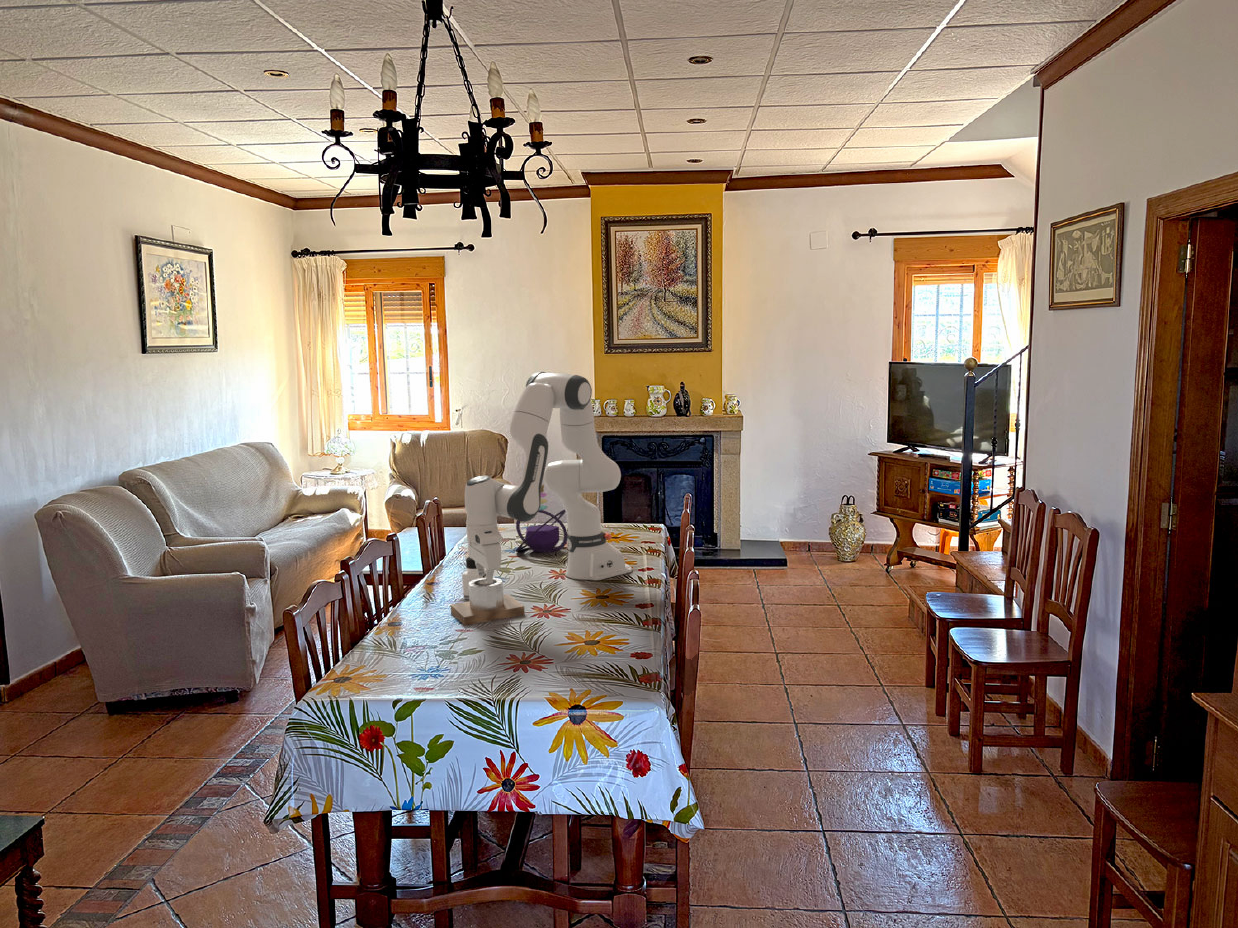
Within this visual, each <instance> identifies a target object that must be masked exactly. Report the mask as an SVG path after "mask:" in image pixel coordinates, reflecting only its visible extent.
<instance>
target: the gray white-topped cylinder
mask: <svg viewBox="0 0 1238 928" xmlns="http://www.w3.org/2000/svg"><path fill="white" fill-rule="evenodd" d="M477 583H478V585H480V586H484V585H492V584H494V583H495V581H494V580H493V582H489V583H488V582H487V581H486V579H484V580H480V581H478V582H477Z"/></svg>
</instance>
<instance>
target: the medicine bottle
mask: <svg viewBox="0 0 1238 928" xmlns="http://www.w3.org/2000/svg"><path fill="white" fill-rule="evenodd" d="M465 564H466V565H465V566H466V571H465V572H463V573H462V574H461V577H462V593H463V596H464V597H469V588H468V584H469V582H470V581H473V580H475V579H480V578H486V577H485V576H486V568H484V567H483V568H484V571H485V572H484V573H485V575H484V576H479V575H478V574H477V568H476V564H475V561H474V560H473V559H472V558H470V557H469V556H468V557H466V559H465Z"/></svg>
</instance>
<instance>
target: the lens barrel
mask: <svg viewBox="0 0 1238 928" xmlns="http://www.w3.org/2000/svg"><path fill="white" fill-rule="evenodd" d="M484 579H486V578H480V579H475V580H473V581H470V582H469V584H468V588H469V596H468V598H469V599H468V601H469V602H470V608H471V609H473V610H479V611H484V610H493V609H497V608H500V607H502V606H503V604H504V596H503V595H504V582H503V580H502V579H501V578H497V577H493V580H494V581H495V583H494V584H492V585H484V586H480V585H478V583H477V582H478V581H480V580H484Z"/></svg>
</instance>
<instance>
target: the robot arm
mask: <svg viewBox="0 0 1238 928" xmlns="http://www.w3.org/2000/svg"><path fill="white" fill-rule="evenodd" d="M525 383H526V384H525V387H524V389H523V391H522V392H521V395H520V397H519V399H518V400H517V404H516V405H515V409H514V412H513V414H512V417H511V421H510V425H509V432H510V436H511V438H512V439H513V441H514V442H515V443H516V444H517V445H518V446H520V448H522V449H523V451H524V453H525V462H524V468H523V473H522V476H521V477H522V478H521V481H520V483H519V484H518V485H514V484H510V483H504V482H500V481H497V480H495V479H493V478H492V477H491V476H490V475H478V476H475V477H472V478H470V479H468V480H467V482H466V483H465V487H464V509H465V513H466V521H465V524H466V525H465V526H466V527H465V528H466V540H467V553H468V557H470V558H472V559H473V560H474V561H475V564H476V568H477V574H478V575H479V576H484V575H485V573H484V572H485V571H484V568H486V576H485V577H486V581H487V582H488V583H489V582H493V578H494V574H495V571H496V570H500V569H501V566H502V547H501V543H502V542H503V537H502V534H501V533H500V530H499V527H498V519H497V518H498V517H503V518H508V519H513V520H515V521H517V520H518V521H521V522H522V523H526V522H529V521H531V520H533V519H534V518H535V517H536V516H537V515H538V514H539V512H538V511H539V509H540V505H542V504H541V499H542V497H541V493H542V492H541V487H542V485H544V487H546V488H547V490H548V491H550V493H552V494H554V495H555V496H556V497H557V498H558V499H559V500H560V502H561V504H562V506H563V508H564V510H565V511H566V512H565V515H566V522H567V523H566V524H567V543H566V546H567V551H568V555H567V565H566V571H565V573H564V574H565V577H567V578H570V579H573V580H590V581H601V580H604V579H608V578H612V577H618V576H621V575H624V574H630V573H632V571H633V568H632V567H631V565H629V564H627V563H626V561H625V558H624V557H625V556H624V554H623V553H622V552H621V550H619V549H617V548H616V547H615V546H613V545H612V544H610V543H609V542H607V540H608V541H611V539H612V538H613V536H612V534H611V533H609V532H604V531H602V524H601V511H600V509H599V508H598V506H597V505H595V504H593V503H592V502H589V501H588V500H586V499H585V498H584V497H583V495H582V494H583V493H603V492H608V491H613V490H615V489H617V487H618V486H619V484H620V481H621V478H622V473H621V469H620V467H619V465H618V464H617V463H616V461H614V460H612V459H611V458H610V457H609V456H607V455H606V453H604V451H603V450H602V449H601V447H600V444H599V443H598V439H597V435H596V432H597V431H596V426H595V413H594V408H593V407H594V406H593V403H592V400H591V399H592V393H593V391H592V386H591V383H590V382H589V380H588V379H587V378H585V377H584V376H582V375H578V374H570V373H565V372H545V371H539V372H534V373H532V374H531V375H530V377H529V378H528V380H527V381H526V382H525ZM553 409H559V422H560V424H559V425H560V434H561V435H560V436H561V442H562V443H561V444H562V445H563V446H564V447H565V448H566V449H567V450H568V451H570V452H572V453H574V454H576V455H577V456H579V457H580V459H561V460H556V461H552V462H549V463H548V464H547V460H548V454H549V441H548V439H547V436H548V435H547V434H548V427H549V424H550V421H551V418H552V414H553ZM543 483H544V484H543ZM521 522H520V523H521ZM483 567H484V568H483Z"/></svg>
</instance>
